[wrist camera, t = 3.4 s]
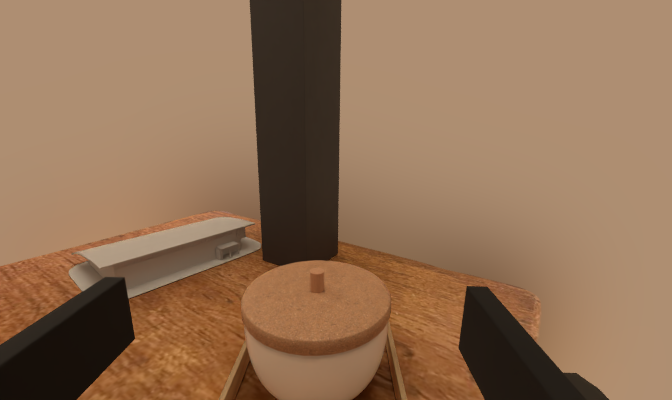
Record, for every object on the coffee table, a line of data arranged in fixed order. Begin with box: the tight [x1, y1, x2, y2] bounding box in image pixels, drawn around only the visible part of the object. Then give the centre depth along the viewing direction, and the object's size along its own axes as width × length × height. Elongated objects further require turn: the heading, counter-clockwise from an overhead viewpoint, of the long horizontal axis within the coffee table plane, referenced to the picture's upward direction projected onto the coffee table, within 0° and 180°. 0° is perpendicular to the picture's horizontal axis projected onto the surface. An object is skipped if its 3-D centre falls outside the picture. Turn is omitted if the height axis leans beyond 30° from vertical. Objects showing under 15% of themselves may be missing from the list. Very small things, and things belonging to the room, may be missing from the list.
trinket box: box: [241, 260, 391, 400], centre depth 23 cm, size 11×11×9 cm
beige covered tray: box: [69, 217, 261, 299], centre depth 46 cm, size 15×23×4 cm, turn 141°
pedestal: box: [250, 0, 341, 266], centre depth 42 cm, size 8×8×36 cm
